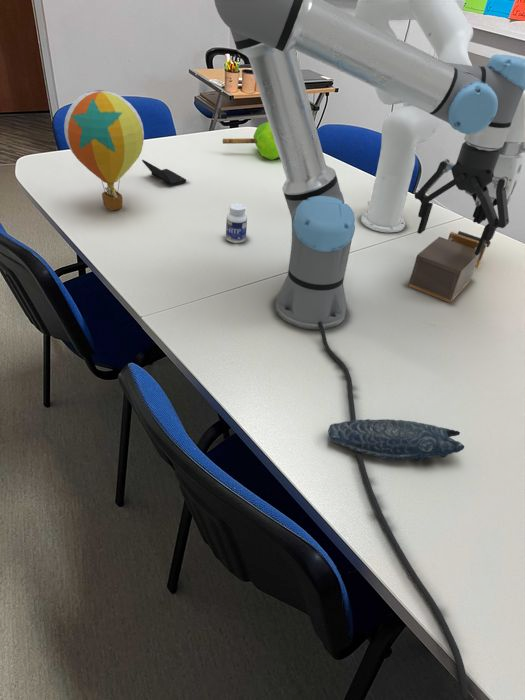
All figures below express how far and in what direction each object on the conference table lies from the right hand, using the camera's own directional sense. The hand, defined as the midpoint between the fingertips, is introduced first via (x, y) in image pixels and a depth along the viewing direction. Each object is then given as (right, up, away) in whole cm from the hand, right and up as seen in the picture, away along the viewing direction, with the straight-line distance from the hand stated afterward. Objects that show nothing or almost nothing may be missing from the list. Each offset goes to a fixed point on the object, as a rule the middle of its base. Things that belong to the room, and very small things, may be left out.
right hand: (478, 221), depth 129 cm
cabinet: (-11, -16, -3) cm, 20 cm away
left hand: (-12, -8, -13) cm, 20 cm away
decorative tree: (-53, +39, +60) cm, 89 cm away
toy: (-96, +7, +16) cm, 97 cm away
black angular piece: (-85, +22, +35) cm, 94 cm away
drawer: (-4, -10, +3) cm, 11 cm away
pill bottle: (-61, -3, +7) cm, 61 cm away
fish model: (-33, -48, -46) cm, 74 cm away
